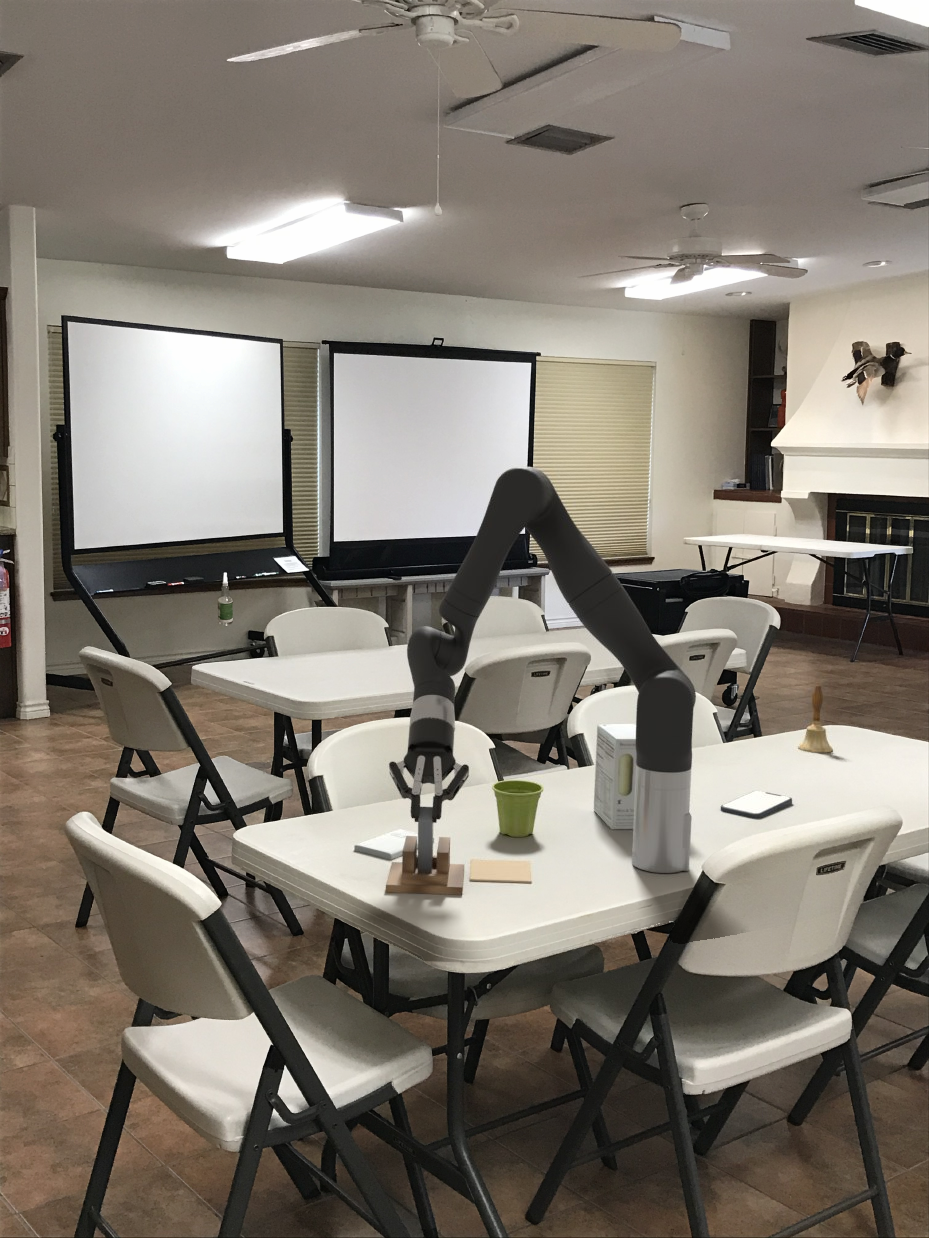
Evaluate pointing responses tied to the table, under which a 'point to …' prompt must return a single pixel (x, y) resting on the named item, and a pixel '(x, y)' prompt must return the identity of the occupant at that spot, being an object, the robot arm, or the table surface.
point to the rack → (439, 882)
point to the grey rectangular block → (425, 840)
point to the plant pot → (517, 806)
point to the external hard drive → (386, 844)
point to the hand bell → (816, 728)
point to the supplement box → (615, 774)
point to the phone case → (756, 804)
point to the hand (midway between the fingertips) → (425, 819)
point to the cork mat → (500, 871)
